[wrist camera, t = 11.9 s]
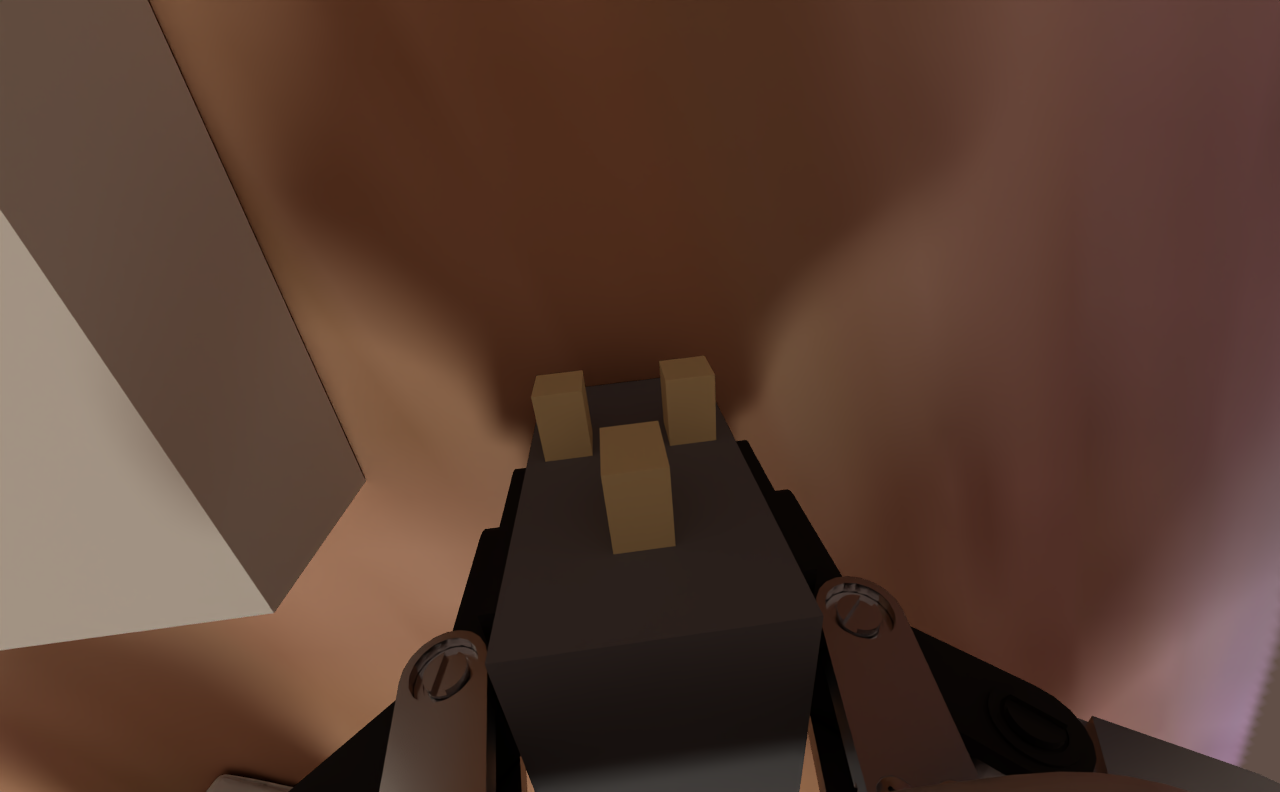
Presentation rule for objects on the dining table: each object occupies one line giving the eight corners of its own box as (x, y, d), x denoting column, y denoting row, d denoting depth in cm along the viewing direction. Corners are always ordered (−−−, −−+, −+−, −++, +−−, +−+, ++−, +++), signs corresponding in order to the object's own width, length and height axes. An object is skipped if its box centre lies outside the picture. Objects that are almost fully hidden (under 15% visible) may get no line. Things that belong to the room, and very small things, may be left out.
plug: (699, 319, 11) (834, 526, 5) (706, 523, 14) (796, 813, 8) (531, 339, 11) (450, 579, 5) (573, 541, 14) (558, 851, 8)
